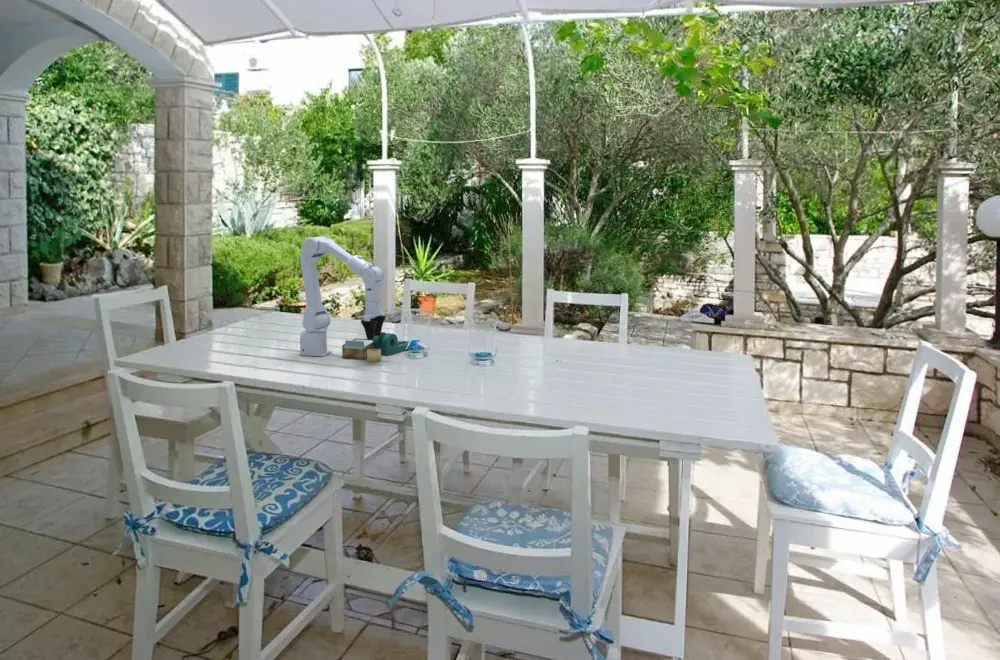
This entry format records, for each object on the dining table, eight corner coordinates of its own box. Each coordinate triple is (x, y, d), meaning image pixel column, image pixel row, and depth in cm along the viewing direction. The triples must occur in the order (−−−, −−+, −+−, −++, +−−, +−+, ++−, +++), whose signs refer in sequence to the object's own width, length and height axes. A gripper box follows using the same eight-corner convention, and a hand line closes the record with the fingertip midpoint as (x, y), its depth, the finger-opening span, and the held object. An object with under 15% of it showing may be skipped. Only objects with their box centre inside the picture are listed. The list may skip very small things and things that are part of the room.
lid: (343, 347, 273) (343, 340, 273) (356, 341, 286) (356, 334, 285) (364, 349, 272) (364, 341, 271) (375, 342, 284) (375, 335, 284)
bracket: (386, 355, 279) (386, 335, 277) (372, 353, 282) (372, 333, 280) (415, 348, 294) (415, 328, 293) (401, 345, 297) (401, 326, 296)
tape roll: (365, 361, 269) (364, 350, 268) (369, 358, 274) (369, 347, 273) (378, 362, 268) (378, 351, 267) (382, 359, 273) (382, 348, 272)
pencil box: (342, 358, 274) (342, 345, 273) (355, 350, 287) (355, 338, 287) (365, 359, 272) (365, 346, 272) (378, 351, 286) (378, 339, 285)
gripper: (377, 303, 259) (377, 341, 262) (390, 298, 273) (390, 334, 276) (358, 302, 260) (358, 340, 263) (371, 297, 274) (372, 333, 277)
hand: (373, 337), depth 269 cm, fingers open, 7 cm apart
